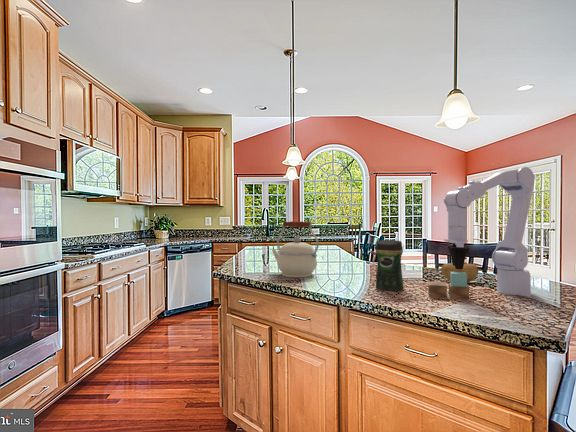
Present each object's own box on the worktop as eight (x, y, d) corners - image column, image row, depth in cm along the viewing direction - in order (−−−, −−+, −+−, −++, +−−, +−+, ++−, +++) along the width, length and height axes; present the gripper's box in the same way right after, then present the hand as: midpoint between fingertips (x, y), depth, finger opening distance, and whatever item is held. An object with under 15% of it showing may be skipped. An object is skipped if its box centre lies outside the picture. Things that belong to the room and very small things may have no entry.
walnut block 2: (466, 296, 115) (466, 284, 115) (469, 299, 110) (469, 287, 110) (448, 294, 117) (448, 283, 117) (450, 298, 112) (450, 286, 112)
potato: (442, 278, 150) (442, 260, 150) (479, 282, 143) (479, 262, 143) (438, 282, 142) (438, 263, 142) (477, 286, 135) (477, 265, 135)
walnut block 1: (445, 294, 118) (445, 282, 118) (446, 298, 113) (446, 286, 113) (428, 293, 120) (428, 281, 120) (428, 296, 114) (428, 284, 114)
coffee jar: (405, 289, 129) (405, 239, 129) (399, 293, 122) (399, 241, 122) (379, 286, 134) (379, 238, 134) (373, 290, 127) (373, 240, 127)
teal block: (465, 284, 115) (465, 272, 115) (466, 287, 111) (467, 274, 111) (450, 283, 117) (450, 271, 117) (451, 286, 113) (451, 273, 113)
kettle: (327, 274, 162) (326, 221, 162) (308, 280, 147) (307, 221, 147) (282, 269, 176) (282, 220, 176) (260, 275, 160) (260, 221, 160)
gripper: (442, 225, 123) (442, 263, 123) (446, 227, 110) (446, 269, 110) (464, 225, 121) (464, 264, 121) (471, 227, 107) (471, 271, 107)
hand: (457, 267), depth 115 cm, fingers open, 7 cm apart
